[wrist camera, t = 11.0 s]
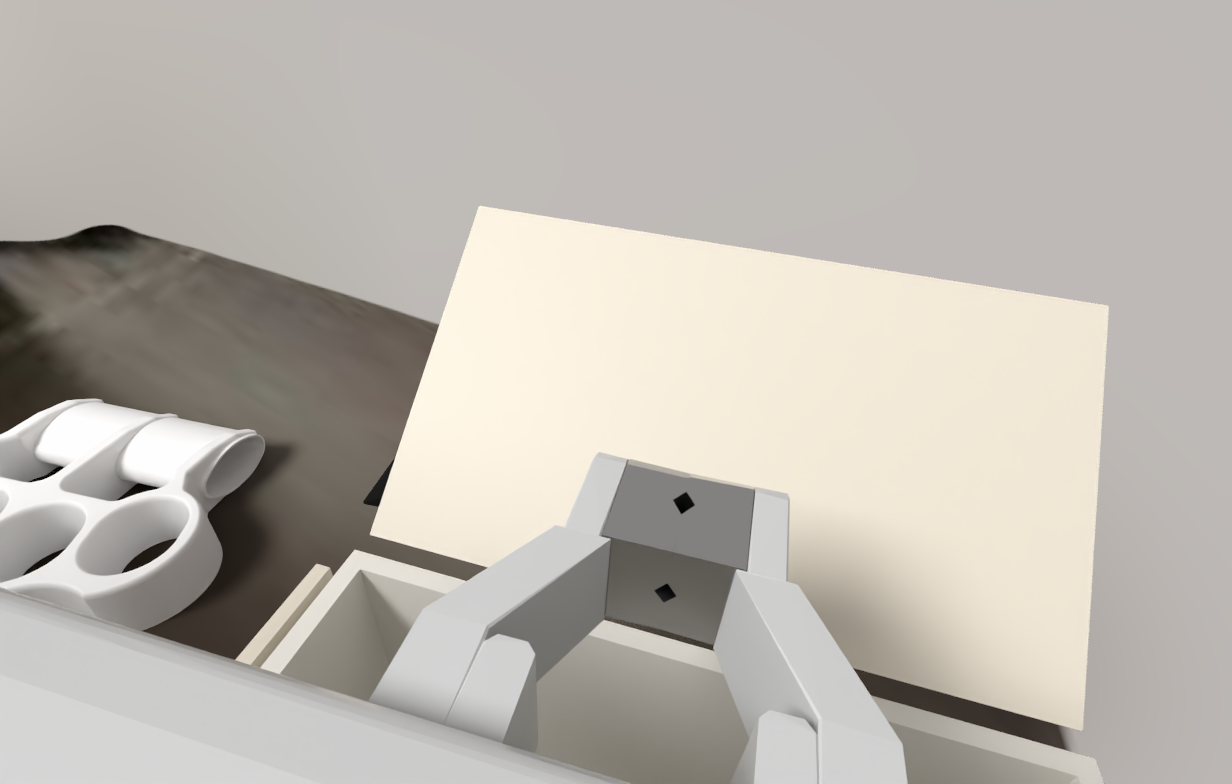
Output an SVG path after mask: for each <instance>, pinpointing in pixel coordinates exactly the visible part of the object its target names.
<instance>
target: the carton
mask: <svg viewBox="0 0 1232 784" xmlns="http://www.w3.org/2000/svg"><path fill="white" fill-rule="evenodd" d="M465 582H466V581H464V580H461V579H457V578H453V577H450V576H446V575H443V574H439V573H436V572H432V571H429V570H425V569H422V568H418V567H415V566H411V565H407V564H404V563H400V562H397V561H393V560H390V559H386V558H383V557H379V556H376V555H372V554H368V553H365V552H361V551H358V550H354V551H353V552H352V554H351V555H350V556H349V557H348V559H347V560H346V561H345V562H344V564H343V565H342V566H341V567H340V569H339V570H338V571H337V572H336V574H335V575H334V576H333V575H332V572H331V569H330V568H329V567H326V566H322V565H319V564H316V565H315V566H314V567H313V569H312V570H311V571H310V572H309V573H308V574H307V576H306V577H305V578H304V579H303V580H302V582H301V583H300V584H299V585H298V586H297V587H296V589H295V590H294V591H293V592H292V593H291V595H290V596H289V597H288V598H287V599H286V600H285V602H284V603H283V604H282V605H281V606H280V608H279V609H278V610H277V611H276V612H275V613H274V615H273V616H272V617H271V618H270V619H269V621H268V622H267V623H266V624H265V625H264V626H263V628H262V629H261V630H260V631H259V632H258V634H257V635H256V636H255V637H254V638H253V639H252V641H251V642H250V643H249V644H248V645H247V647H246V648H245V649H244V650H243V651H242V652H241V654H240V655H239V656H238V657H237V658H236V661H239V662H242V663H246V664H249V665H252V666H255V667H259V668H262V669H265V670H268V671H271V672H275V673H278V674H281V675H284V676H287V677H291V678H294V679H297V680H300V681H304V682H307V683H310V684H313V685H316V686H320V687H323V688H326V689H329V690H333V691H336V692H339V693H342V694H345V695H349V696H352V697H355V698H358V699H362V700H365V701H369V699H370V697H371V696H372V694H373V692H374V691H375V689H376V687H377V686H378V684H379V682H380V680H381V679H382V677H383V675H384V674H385V672H386V670H387V669H388V667H389V665H390V664H391V662H392V660H393V658H394V657H395V655H396V653H397V652H398V650H399V648H400V647H401V645H402V643H403V642H404V640H405V638H406V636H407V635H408V633H409V631H410V630H411V628H412V626H413V625H414V623H415V621H416V620H417V618H418V616H419V614H420V613H421V611H422V609H424V608H425V607H427V606H428V605H430V604H432V603H433V602H435V601H436V600H438V599H439V598H441V597H443V596H444V595H446V594H447V593H449V592H450V591H452V590H454V589H455V588H457V587H458V586H460V585H462V584H463V583H465ZM536 686H537V717H538V746H537V749H536V752H535V754H538V755H542V756H545V757H548V758H551V759H555V760H558V761H561V762H564V763H567V764H571V765H574V766H577V767H580V768H583V769H587V770H590V771H593V772H596V773H600V774H603V775H606V776H609V777H612V778H616V779H619V780H622V781H625V782H628V783H632V784H730V782H731V780H732V777H733V775H734V773H735V771H736V768H737V766H738V764H739V762H740V759H741V757H742V755H743V753H744V750H745V748H746V746H747V743H748V741H749V737H748V735H747V732H746V730H745V727H744V724H743V722H742V719H741V717H740V714H739V712H738V709H737V707H736V704H735V702H734V699H733V697H732V694H731V692H730V689H729V686H728V684H727V681H726V679H725V676H724V674H723V671H722V669H721V666H720V664H719V661H718V659H717V656H716V654H715V651H712V650H708V649H705V648H701V647H698V646H694V645H691V644H687V643H684V642H680V641H677V640H673V639H670V638H666V637H662V636H659V635H655V634H652V633H648V632H645V631H641V630H638V629H634V628H631V627H627V626H623V625H620V624H616V623H613V622H609V621H606V620H603V621H602V622H601V623H600V624H599V625H598V626H597V627H596V628H595V629H593V630H592V631H591V632H590V633H589V634H588V635H587V636H586V637H585V638H584V639H583V640H582V641H581V642H580V643H578V644H577V645H576V646H575V647H574V648H573V649H572V650H571V651H570V652H569V653H568V654H567V655H566V656H565V657H563V658H562V659H561V660H560V661H559V662H558V663H557V664H556V665H555V666H554V667H553V668H552V669H551V670H550V671H548V672H547V673H546V674H545V675H544V676H543V677H542V678H541V679H540V680H539V681H538V682H537V683H536ZM871 697H872V698H873V700H874V701H875V703H876V704H877V706H878V707H879V709H880V710H881V712H882V713H883V715H884V717H885V718H886V720H887V721H888V723H889V724H890V726H891V727H892V729H893V730H894V732H895V733H896V735H897V736H898V738H899V740H900V741H901V743H902V744H903V752H904V760H905V768H906V776H907V784H1104V782H1103V779H1102V776H1101V774H1100V771H1099V768H1098V765H1097V762H1096V759H1095V758H1091V757H1087V756H1084V755H1080V754H1077V753H1073V752H1070V751H1066V750H1063V749H1059V748H1056V747H1052V746H1048V745H1045V744H1041V743H1038V742H1034V741H1031V740H1027V739H1024V738H1020V737H1017V736H1013V735H1010V734H1006V733H1002V732H999V731H995V730H992V729H988V728H985V727H981V726H978V725H974V724H971V723H967V722H963V721H960V720H956V719H953V718H949V717H946V716H942V715H939V714H935V713H932V712H928V711H925V710H921V709H917V708H914V707H910V706H907V705H903V704H900V703H896V702H893V701H889V700H886V699H882V698H878V697H875V696H871Z"/></svg>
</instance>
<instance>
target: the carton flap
mask: <svg viewBox="0 0 1232 784" xmlns="http://www.w3.org/2000/svg"><path fill="white" fill-rule="evenodd" d="M1108 310H1109V306H1106V305H1100V304H1094V303H1088V302H1081V301H1075V300H1069V299H1063V298H1056V297H1050V296H1044V295H1037V294H1031V293H1025V292H1018V291H1012V290H1005V289H1000V288H993V287H987V286H980V285H975V284H968V283H961V282H956V281H949V280H943V279H936V278H930V277H924V276H918V275H912V274H905V273H898V272H893V271H885V270H880V269H874V268H867V267H860V266H855V265H849V264H842V263H835V262H829V261H823V260H817V259H810V258H804V257H798V256H792V255H786V254H779V253H772V252H766V251H760V250H753V249H748V248H741V247H735V246H728V245H722V244H716V243H710V242H704V241H697V240H691V239H685V238H678V237H672V236H666V235H659V234H653V233H646V232H641V231H634V230H628V229H622V228H615V227H609V226H603V225H597V224H590V223H584V222H578V221H571V220H565V219H558V218H552V217H546V216H540V215H534V214H527V213H521V212H515V211H508V210H502V209H496V208H490V207H483V206H479V208H478V211H477V214H476V217H475V220H474V224H473V226H472V229H471V232H470V235H469V239H468V241H467V244H466V247H465V250H464V253H463V256H462V259H461V262H460V265H459V268H458V271H457V274H456V277H455V280H454V283H453V286H452V289H451V292H450V295H449V298H448V301H447V304H446V308H445V310H444V313H443V316H442V319H441V322H440V325H439V328H438V331H437V334H436V337H435V340H434V343H433V346H432V349H431V352H430V355H429V358H428V361H427V364H426V367H425V370H424V373H423V376H422V379H421V382H420V385H419V388H418V391H417V394H416V397H415V400H414V403H413V406H412V409H411V412H410V415H409V418H408V421H407V424H406V427H405V430H404V433H403V436H402V439H401V442H400V445H399V448H398V451H397V454H396V457H395V460H394V463H393V466H392V469H391V472H390V475H389V478H388V481H387V484H386V487H385V490H384V493H383V496H382V499H381V502H380V505H379V508H378V511H377V514H376V517H375V520H374V523H373V526H372V529H371V532H370V535H373V536H376V537H380V538H383V539H387V540H391V541H394V542H398V543H402V544H405V545H409V546H412V547H416V548H420V549H423V550H427V551H431V552H434V553H438V554H441V555H445V556H449V557H452V558H456V559H460V560H463V561H467V562H470V563H474V564H478V565H481V566H485V567H490V566H492V565H493V564H495V563H496V562H498V561H499V560H501V559H503V558H504V557H506V556H507V555H509V554H510V553H512V552H514V551H515V550H517V549H518V548H520V547H522V546H523V545H525V544H526V543H528V542H529V541H531V540H533V539H534V538H536V537H537V536H539V535H540V534H542V533H544V532H545V531H547V530H548V529H550V528H552V527H553V526H555V525H556V526H561V527H565V524H566V522H567V520H568V517H569V515H570V513H571V510H572V508H573V506H574V503H575V501H576V498H577V496H578V494H579V491H580V489H581V487H582V484H583V482H584V479H585V477H586V475H587V472H588V470H589V468H590V465H591V463H592V461H593V458H594V457H595V456H596V455H597V453H598V452H601V453H605V454H609V455H613V456H617V457H621V458H625V459H633V460H637V461H641V462H645V463H649V464H653V465H657V466H661V467H665V468H669V469H673V470H677V471H681V472H686V473H691V474H696V475H701V476H705V477H710V478H715V479H719V480H724V481H729V482H734V483H738V484H743V485H748V486H753V488H754V487H758V488H763V489H768V490H773V491H778V492H783V493H787V494H788V496H789V498H790V514H789V558H788V582H790V583H794V584H798V585H799V586H800V588H801V589H802V591H803V592H804V594H805V596H806V597H807V599H808V600H809V602H810V603H811V605H812V606H813V608H814V609H815V611H816V612H817V614H818V615H819V617H820V618H821V620H822V622H823V623H824V625H825V626H826V628H827V629H828V631H829V632H830V634H831V635H832V637H833V638H834V640H835V641H836V643H837V645H838V646H839V648H840V649H841V651H842V652H843V654H844V655H845V657H846V658H847V660H848V661H849V663H850V664H851V666H852V668H855V669H858V670H862V671H866V672H869V673H873V674H876V675H880V676H884V677H887V678H891V679H895V680H898V681H902V682H905V683H909V684H913V685H916V686H920V687H924V688H927V689H931V690H934V691H938V692H942V693H945V694H949V695H953V696H956V697H960V698H963V699H967V700H971V701H974V702H978V703H982V704H985V705H989V706H992V707H996V708H1000V709H1003V710H1007V711H1011V712H1014V713H1018V714H1021V715H1025V716H1029V717H1032V718H1036V719H1040V720H1043V721H1047V722H1050V723H1054V724H1058V725H1061V726H1065V727H1069V728H1072V729H1076V730H1079V731H1083V721H1084V704H1085V688H1086V671H1087V656H1088V639H1089V622H1090V606H1091V589H1092V572H1093V556H1094V541H1095V524H1096V508H1097V491H1098V475H1099V474H1098V473H1099V458H1100V442H1101V424H1102V409H1103V393H1104V376H1105V360H1106V342H1107V327H1108Z"/></svg>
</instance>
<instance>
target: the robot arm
mask: <svg viewBox="0 0 1232 784" xmlns="http://www.w3.org/2000/svg"><path fill="white" fill-rule="evenodd" d="M789 514H790V498H789V496H788V494H787V493H783V492H778V491H773V490H768V489H763V488H758V487H754V488H753V486H748V485H743V484H738V483H734V482H729V481H724V480H719V479H715V478H710V477H705V476H701V475H696V474H691V473H686V472H681V471H677V470H673V469H669V468H665V467H661V466H657V465H653V464H649V463H645V462H641V461H637V460H633V459H625V458H621V457H617V456H613V455H609V454H605V453H601V452H598V453H597V455H596V456H595V457H594V458H593V461H592V463H591V465H590V468H589V470H588V472H587V475H586V477H585V479H584V482H583V484H582V487H581V489H580V491H579V494H578V496H577V498H576V501H575V503H574V506H573V508H572V510H571V513H570V515H569V517H568V520H567V522H566V524H565V527H561V526H556V525H555V526H553V527H552V528H550V529H548V530H547V531H545V532H544V533H542V534H540V535H539V536H537V537H536V538H534V539H533V540H531V541H529V542H528V543H526V544H525V545H523V546H522V547H520V548H518V549H517V550H515V551H514V552H512V553H510V554H509V555H507V556H506V557H504V558H503V559H501V560H499V561H498V562H496V563H495V564H493V565H492V566H490V567H488V568H487V569H485V570H484V571H482V572H480V573H479V574H477V575H476V576H474V577H473V578H471V579H469V580H468V581H466V582H465V583H463V584H462V585H460V586H458V587H457V588H455V589H454V590H452V591H450V592H449V593H447V594H446V595H444V596H443V597H441V598H439V599H438V600H436V601H435V602H433V603H432V604H430V605H428V606H427V607H425V608H424V609H422V611H421V613H420V614H419V616H418V618H417V620H416V621H415V623H414V625H413V626H412V628H411V630H410V631H409V633H408V635H407V636H406V638H405V640H404V642H403V643H402V645H401V647H400V648H399V650H398V652H397V653H396V655H395V657H394V658H393V660H392V662H391V664H390V665H389V667H388V669H387V670H386V672H385V674H384V675H383V677H382V679H381V680H380V682H379V684H378V686H377V687H376V689H375V691H374V692H373V694H372V696H371V697H370V699H369V701H365V700H362V699H358V698H355V697H352V696H349V695H345V694H342V693H339V692H336V691H333V690H329V689H326V688H323V687H320V686H316V685H313V684H310V683H307V682H304V681H300V680H297V679H294V678H291V677H287V676H284V675H281V674H278V673H275V672H271V671H268V670H265V669H262V668H259V667H255V666H252V665H249V664H246V663H242V662H239V661H236V660H233V659H230V658H226V657H223V656H220V655H217V654H213V653H210V652H207V651H204V650H201V649H197V648H194V647H191V646H188V645H184V644H181V643H178V642H175V641H172V640H168V639H165V638H162V637H159V636H155V635H152V634H149V633H146V632H143V631H139V630H136V629H133V628H130V627H127V626H123V625H120V624H117V623H114V622H110V621H107V620H104V619H101V618H98V617H94V616H91V615H88V614H85V613H81V612H78V611H75V610H72V609H69V608H65V607H62V606H59V605H56V604H52V603H49V602H46V601H43V600H40V599H36V598H33V597H30V596H27V595H24V594H20V593H17V592H14V591H11V590H7V589H4V588H1V587H0V784H632V783H628V782H625V781H622V780H619V779H616V778H612V777H609V776H606V775H603V774H600V773H596V772H593V771H590V770H587V769H583V768H580V767H577V766H574V765H571V764H567V763H564V762H561V761H558V760H555V759H551V758H548V757H545V756H542V755H538V754H535V752H536V749H537V746H538V717H537V686H536V683H537V682H538V681H539V680H540V679H541V678H542V677H543V676H544V675H545V674H546V673H547V672H548V671H550V670H551V669H552V668H553V667H554V666H555V665H556V664H557V663H558V662H559V661H560V660H561V659H562V658H563V657H565V656H566V655H567V654H568V653H569V652H570V651H571V650H572V649H573V648H574V647H575V646H576V645H577V644H578V643H580V642H581V641H582V640H583V639H584V638H585V637H586V636H587V635H588V634H589V633H590V632H591V631H592V630H593V629H595V628H596V627H597V626H598V625H599V624H600V623H601V622H602V621H603V620H604V616H606V617H610V618H615V619H619V620H623V621H627V622H631V623H636V624H640V625H644V626H648V627H653V628H657V629H660V630H664V631H667V632H671V633H674V634H677V635H681V636H684V637H688V638H691V639H694V640H698V641H701V642H705V643H708V644H711V645H714V647H713V648H714V651H715V654H716V656H717V659H718V661H719V664H720V666H721V669H722V671H723V674H724V676H725V679H726V681H727V684H728V686H729V689H730V692H731V694H732V697H733V699H734V702H735V704H736V707H737V709H738V712H739V714H740V717H741V719H742V722H743V724H744V727H745V730H746V732H747V735H748V737H749V741H748V743H747V746H746V748H745V750H744V753H743V755H742V757H741V759H740V762H739V764H738V766H737V768H736V771H735V773H734V775H733V777H732V780H731V782H730V784H907V776H906V768H905V760H904V752H903V744H902V743H901V741H900V740H899V738H898V736H897V735H896V733H895V732H894V730H893V729H892V727H891V726H890V724H889V723H888V721H887V720H886V718H885V717H884V715H883V713H882V712H881V710H880V709H879V707H878V706H877V704H876V703H875V701H874V700H873V698H872V697H871V695H870V694H869V692H868V691H867V689H866V687H865V686H864V684H863V683H862V681H861V680H860V678H859V677H858V675H857V674H856V672H855V671H854V669H853V668H852V666H851V664H850V663H849V661H848V660H847V658H846V657H845V655H844V654H843V652H842V651H841V649H840V648H839V646H838V645H837V643H836V641H835V640H834V638H833V637H832V635H831V634H830V632H829V631H828V629H827V628H826V626H825V625H824V623H823V622H822V620H821V618H820V617H819V615H818V614H817V612H816V611H815V609H814V608H813V606H812V605H811V603H810V602H809V600H808V599H807V597H806V596H805V594H804V592H803V591H802V589H801V588H800V586H799V585H798V584H794V583H790V582H788V558H789ZM659 625H660V626H659Z"/></svg>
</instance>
